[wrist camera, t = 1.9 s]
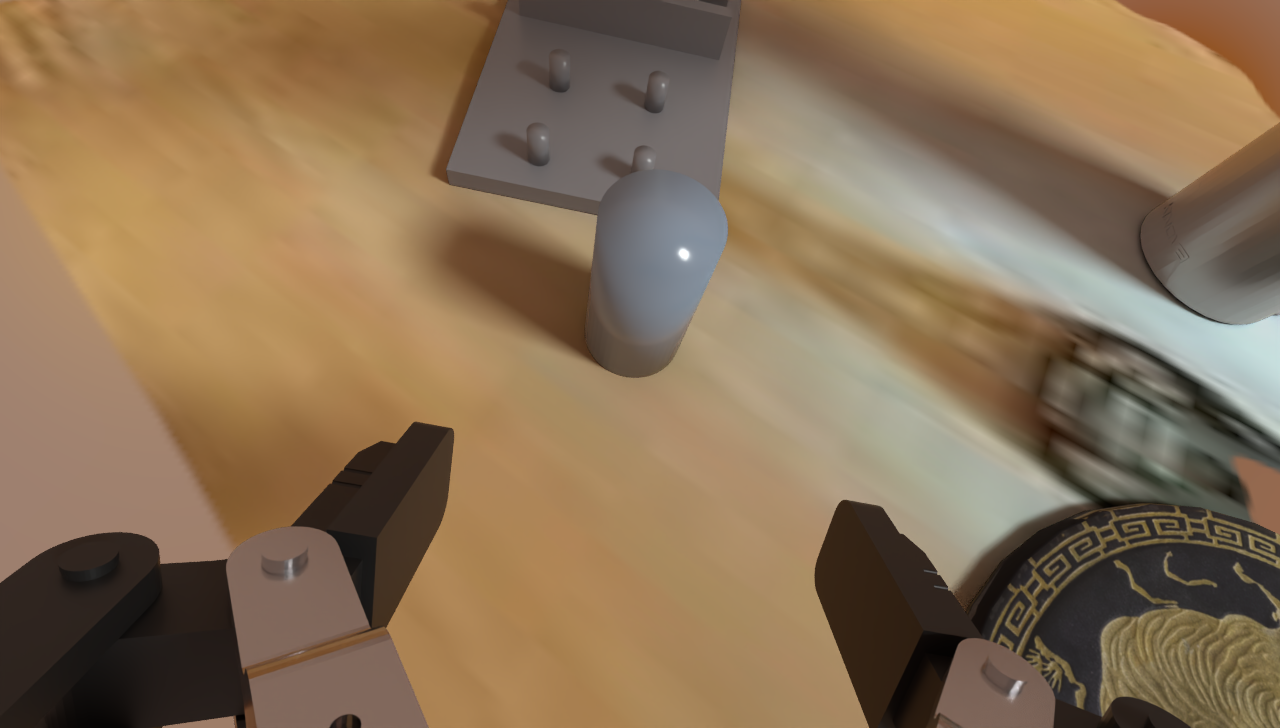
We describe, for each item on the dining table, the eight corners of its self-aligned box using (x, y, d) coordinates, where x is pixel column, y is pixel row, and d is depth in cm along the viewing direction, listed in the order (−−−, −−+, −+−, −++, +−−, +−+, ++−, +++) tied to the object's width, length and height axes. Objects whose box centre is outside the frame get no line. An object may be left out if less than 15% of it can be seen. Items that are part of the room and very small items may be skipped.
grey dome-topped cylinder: (684, 301, 32) (732, 183, 24) (673, 385, 30) (722, 290, 22) (594, 284, 32) (609, 157, 24) (576, 367, 30) (586, 263, 21)
